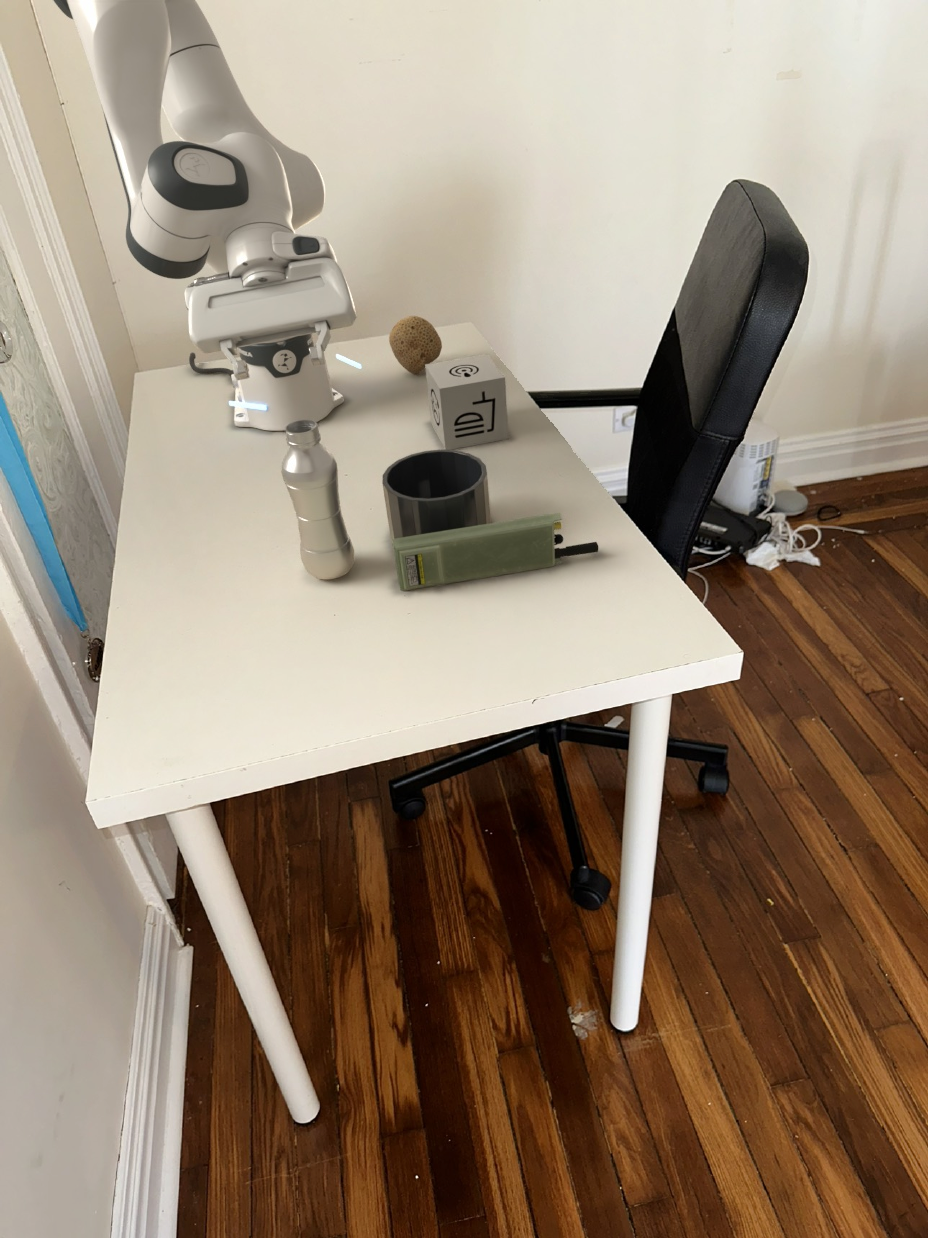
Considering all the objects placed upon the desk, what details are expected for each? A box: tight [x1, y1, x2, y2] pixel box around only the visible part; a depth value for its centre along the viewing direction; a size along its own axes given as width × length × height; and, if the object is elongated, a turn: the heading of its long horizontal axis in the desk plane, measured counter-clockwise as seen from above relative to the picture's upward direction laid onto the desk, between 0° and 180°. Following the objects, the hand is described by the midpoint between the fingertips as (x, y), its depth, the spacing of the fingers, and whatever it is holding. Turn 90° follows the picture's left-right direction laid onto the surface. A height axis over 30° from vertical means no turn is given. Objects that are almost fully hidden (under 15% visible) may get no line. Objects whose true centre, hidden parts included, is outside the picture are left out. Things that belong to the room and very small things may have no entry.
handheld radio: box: [392, 512, 599, 592], centre depth 111 cm, size 7×3×25 cm
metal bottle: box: [280, 420, 355, 580], centre depth 110 cm, size 6×7×20 cm
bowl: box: [381, 449, 492, 545], centre depth 118 cm, size 13×13×9 cm
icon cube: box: [424, 353, 509, 450], centre depth 142 cm, size 10×10×10 cm
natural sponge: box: [388, 315, 443, 375], centre depth 162 cm, size 9×9×10 cm
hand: (280, 370), depth 111 cm, fingers open, 8 cm apart
